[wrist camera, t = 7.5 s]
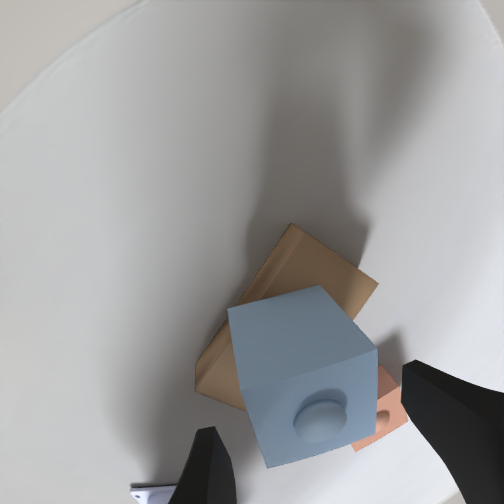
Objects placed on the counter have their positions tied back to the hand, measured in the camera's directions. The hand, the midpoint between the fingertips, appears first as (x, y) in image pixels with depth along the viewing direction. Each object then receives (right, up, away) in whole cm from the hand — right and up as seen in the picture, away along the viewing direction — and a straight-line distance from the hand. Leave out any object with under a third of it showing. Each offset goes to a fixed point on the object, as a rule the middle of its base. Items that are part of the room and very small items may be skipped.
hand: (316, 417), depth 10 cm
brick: (+6, -5, +11) cm, 13 cm away
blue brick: (-1, +2, +5) cm, 6 cm away
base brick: (-1, +2, +8) cm, 9 cm away
